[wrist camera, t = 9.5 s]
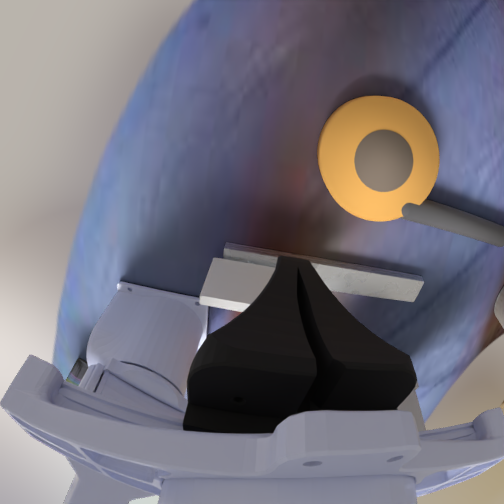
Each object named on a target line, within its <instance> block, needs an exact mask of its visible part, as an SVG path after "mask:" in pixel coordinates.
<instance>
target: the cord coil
mask: <svg viewBox="0 0 504 504" xmlns="http://www.w3.org/2000/svg"><path fill="white" fill-rule="evenodd" d="M317 159H318V166H319V170H320V173H321V176H322V178H323V180H324V182H325V184H326V187H327V188H328V190H329V192H330V194H331V195H332V197H333V198H334V199H335V201H336V202H337V203H338V204H339V205H340V206H341V207H342V208H344V209H345V210H346V211H348V212H349V213H351V214H353V215H354V216H357V217H359V218H362V219H365V220H370V221H390V220H394V219H397V218H400V217H403V215H402V211H401V210H402V207H403V206H404V205H405V204H406V203H413V204H417V205H420V204H421V203H422V202H423V201H424V200H425V199H426V198H427V196H428V195H429V193H430V192H431V190H432V188H433V186H434V184H435V181H436V178H437V174H438V170H439V148H438V143H437V139H436V137H435V134H434V132H433V130H432V128H431V126H430V124H429V123H428V121H427V120H426V119H425V117H424V116H423V115H422V114H421V113H420V112H419V111H418V110H416V109H415V108H414V107H413V106H411V105H409V104H408V103H406V102H404V101H402V100H399V99H396V98H392V97H386V96H363V97H358V98H355V99H352V100H350V101H348V102H346V103H344V104H343V105H341V106H340V107H339V108H337V109H336V110H335V111H334V112H333V113H332V114H331V116H330V117H329V118H328V120H327V121H326V123H325V125H324V126H323V129H322V131H321V133H320V137H319V141H318V148H317Z"/></svg>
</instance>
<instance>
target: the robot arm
mask: <svg viewBox="0 0 504 504" xmlns="http://www.w3.org/2000/svg"><path fill="white" fill-rule="evenodd" d="M130 288H131V289H130ZM117 289H118V292H117V293H116V294H115V296H114V297H113V299H112V300H111V302H110V303H109V305H108V306H107V308H106V309H105V311H104V313H103V314H102V316H101V317H100V319H99V320H98V322H97V323H96V325H95V327H94V328H93V330H92V332H91V335H90V338H89V341H88V346H87V364H88V367H89V368H88V369H87V371H86V373H85V375H84V377H83V378H82V380H81V382H80V384H79V386H77V385H74V384H72V383H70V382H67V381H65V380H64V379H63V377H62V374H61V373H60V371H59V370H58V369H57V368H56V367H55V366H54V365H52V364H50V363H48V362H46V361H44V360H42V359H40V358H37V357H36V356H33V355H29V357H28V358H27V360H26V361H25V363H24V364H23V366H22V367H21V369H20V370H19V372H18V373H17V375H16V377H15V378H14V380H13V382H12V383H11V385H10V386H9V388H8V390H7V391H6V393H5V395H4V397H3V398H2V400H1V402H0V406H1V407H2V408H3V409H4V410H5V411H6V412H7V413H8V414H9V415H10V417H11V418H12V419H13V420H15V422H16V423H18V425H20V427H21V428H22V429H24V430H25V432H27V433H28V434H29V435H30V436H31V437H33V438H34V439H36V440H38V441H39V442H41V443H43V444H45V445H46V446H48V447H50V448H52V449H53V450H55V451H57V452H59V453H61V454H62V455H64V456H66V458H67V460H68V461H69V463H70V465H71V466H72V468H73V469H74V471H75V473H76V474H75V477H74V479H73V481H72V483H71V486H70V488H69V490H68V493H67V495H66V498H65V500H64V502H63V504H128V503H129V501H131V500H135V499H140V498H145V497H150V496H155V495H158V496H159V501H158V504H417V497H420V496H422V495H426V494H429V493H432V492H435V491H438V490H441V489H444V488H447V487H449V486H452V485H455V484H457V483H460V482H463V481H465V480H468V479H470V478H473V477H475V476H478V475H479V474H481V473H483V472H484V471H486V470H487V469H489V468H491V467H492V466H494V465H495V464H497V463H498V462H500V461H501V460H503V459H504V415H503V412H502V410H501V408H495V409H491V410H487V411H485V412H483V413H481V414H480V415H479V416H477V417H476V418H475V419H474V420H473V422H469V423H465V424H460V425H455V426H451V427H445V428H439V429H433V430H427V431H419V432H418V429H417V425H416V421H415V417H414V416H413V414H412V412H409V411H402V410H398V409H397V407H398V406H399V405H400V404H401V403H402V402H403V401H404V400H405V399H406V398H407V397H408V396H409V395H410V393H411V392H412V391H413V389H414V388H415V386H416V383H417V377H416V373H415V370H414V367H413V364H412V361H411V359H410V356H409V355H407V354H405V353H403V352H402V351H400V350H398V349H396V348H395V347H393V346H391V345H389V344H388V343H386V342H385V341H383V340H382V339H380V338H379V337H378V336H376V335H375V334H373V333H372V332H371V331H370V330H368V329H367V328H366V327H365V326H364V325H362V324H361V323H360V322H359V321H358V320H357V319H355V318H354V317H353V316H352V315H351V314H350V313H349V312H348V311H347V310H346V309H345V308H344V306H343V305H342V304H341V303H340V302H339V301H338V300H337V298H336V297H335V296H334V295H333V294H332V292H331V291H330V290H329V288H328V287H327V286H326V284H325V283H324V282H323V280H322V279H321V277H320V276H319V274H318V273H317V271H316V270H315V268H314V267H313V265H312V264H311V262H310V261H309V260H306V259H300V258H294V257H288V256H282V255H281V256H279V257H278V258H277V263H276V267H275V271H274V273H273V274H272V276H271V278H270V280H269V282H268V283H267V285H266V286H265V288H264V289H263V290H262V292H261V293H260V294H259V296H258V297H257V298H256V299H255V300H254V301H253V302H252V303H251V304H250V305H249V306H248V307H247V308H246V309H245V310H244V311H243V312H242V313H241V314H240V315H238V316H237V317H236V318H234V319H233V320H232V321H230V322H229V323H228V324H226V325H225V326H223V327H221V328H220V329H218V330H216V331H214V332H213V333H211V334H209V335H208V336H207V324H208V308H209V306H207V305H201V304H199V303H200V298H198V297H193V296H187V295H182V294H177V293H172V292H168V291H163V290H158V289H153V288H149V287H144V286H139V285H135V284H130V283H126V282H121V281H120V282H119V283H118V284H117ZM197 302H199V303H197ZM186 388H187V395H188V400H187V399H185V398H184V396H185V392H186Z"/></svg>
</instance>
